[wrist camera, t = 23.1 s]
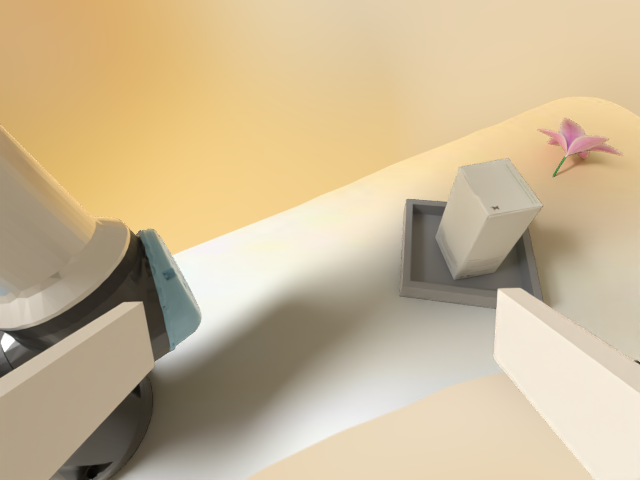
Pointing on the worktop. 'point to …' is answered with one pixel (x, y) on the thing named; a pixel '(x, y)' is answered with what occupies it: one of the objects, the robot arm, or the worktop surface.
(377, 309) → the worktop surface
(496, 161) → the skincare box
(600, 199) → the worktop surface
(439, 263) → the tray
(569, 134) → the lily
